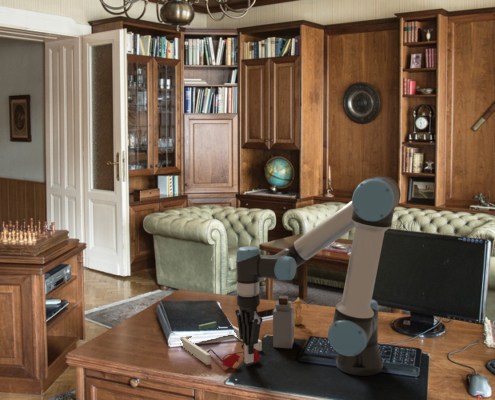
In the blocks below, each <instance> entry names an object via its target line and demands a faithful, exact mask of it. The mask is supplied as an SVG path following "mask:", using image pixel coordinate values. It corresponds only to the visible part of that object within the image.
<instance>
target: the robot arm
mask: <svg viewBox="0 0 495 400" xmlns="http://www.w3.org/2000/svg"><path fill="white" fill-rule="evenodd" d="M400 201H401V189H400V185H398V183H397V182H396V181H395V179H393V178H392V177H389V176H387V175H376V176H373V177H371V178H367V179H364V180H363V181H362V182H360V183H359V184H358V185H357V187H355V190H354V191H353V194H352V198H351V201H349V202H348V203H346V204H345V205H344V206H343V207H341V208H339V209H338V210H337V211H336V212H334V213H332V214H331V215H329V217H326V218H325V219H324V220H323V221H321V222H320V223H319V224H318V225H316V226H315V227H313V228H312V229H311V230H309V231H307V232H306V233H305V234H303V235H302V236H301V237H299V238H297V239H296V240H295V241H294V242H292V243H291V244H290V245H288V246H287V247H285V248H284V249H282V250H280V251H279V252H277V253H276V254H274V255H272V254H270V255H269V254H262V253H261V252H260V248H259V247H257V246H254V245H253V246H251V245H250V246H248V245H246V246H241V247H239V248H238V249H237V250H236V256H235V257H236V258H235V259H236V260H235V263H236V265H235V266H236V293H237V294H236V305H237V307H239V309H236V310H234V311H235V315H236V320H237V328H239V336H240V339H242V340H243V343H242V344H244V346H243V358H244V359H243V360H244V364H252V363H255V362H254V350H255V348H254V344H257V343H258V339H259V338H260V331H261V327H262V326H261V325H262V323H263V318H262V317H259V314H258V313H259V311H258V307H259V306H260V304H261V301H260V300H261V298H260V297H261V296H260V294H259V293H260V278H263V279H270V280H278V281H292V280H293V279H294V278H295V276H296V273H297V268H298V267H300V266H301V265H302V264H304V263H305V262H307V261H308V260H310V259H311V258H313V257H314V256H315V255H317V254H318V253H320V252H321V251H323V250H324V249H326V248H327V247H328V246H330V245H331V244H333V243H335V242H336V241H337V240H338V239H340V238H342V237H343V236H344V235H346V234H348V233H349V232H350V231H352V230H354V232H353V239H352V244H351V249H350V255H349V259H348V266H347V271H346V277H345V283H344V287H343V292H342V293H343V294H342V298H341V301H339V302H338V303H336V304H335V308H334V309H335V310H334V312H333V313H334V314H333V320H332V323H331V324H330V325H329V328H328V331H327V340H328V343H329V344H330V346H331V347H332V349H333V350H334V351H335V352H337V353H338V354H337V356H336V364H337V365H336V368H337V369H338V370H340V371H341V372H343V373H345V374H349V375H353V376H358V377H359V376H364V377H365V376H366V377H367V376H374V375H377V374H380V373H381V372H382V371H383V369H382V368H384V361H383V358H382V356H381V355H382V354H381V351H380V348H379V345H378V344H379V342H378V341H379V340H378V339H379V310H380V309H379V304H378V301H376V300H375V299H373V294H374V289H375V283H376V278H377V274H378V273H377V272H378V268H379V263H380V257H381V252H382V247H383V241H384V237H385V232H386V231H388V230H389V229H391V228H392V223H393V219H394V213H395V208H396V207H397V206H398V205H399V203H400ZM259 340H260V339H259Z"/></svg>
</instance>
